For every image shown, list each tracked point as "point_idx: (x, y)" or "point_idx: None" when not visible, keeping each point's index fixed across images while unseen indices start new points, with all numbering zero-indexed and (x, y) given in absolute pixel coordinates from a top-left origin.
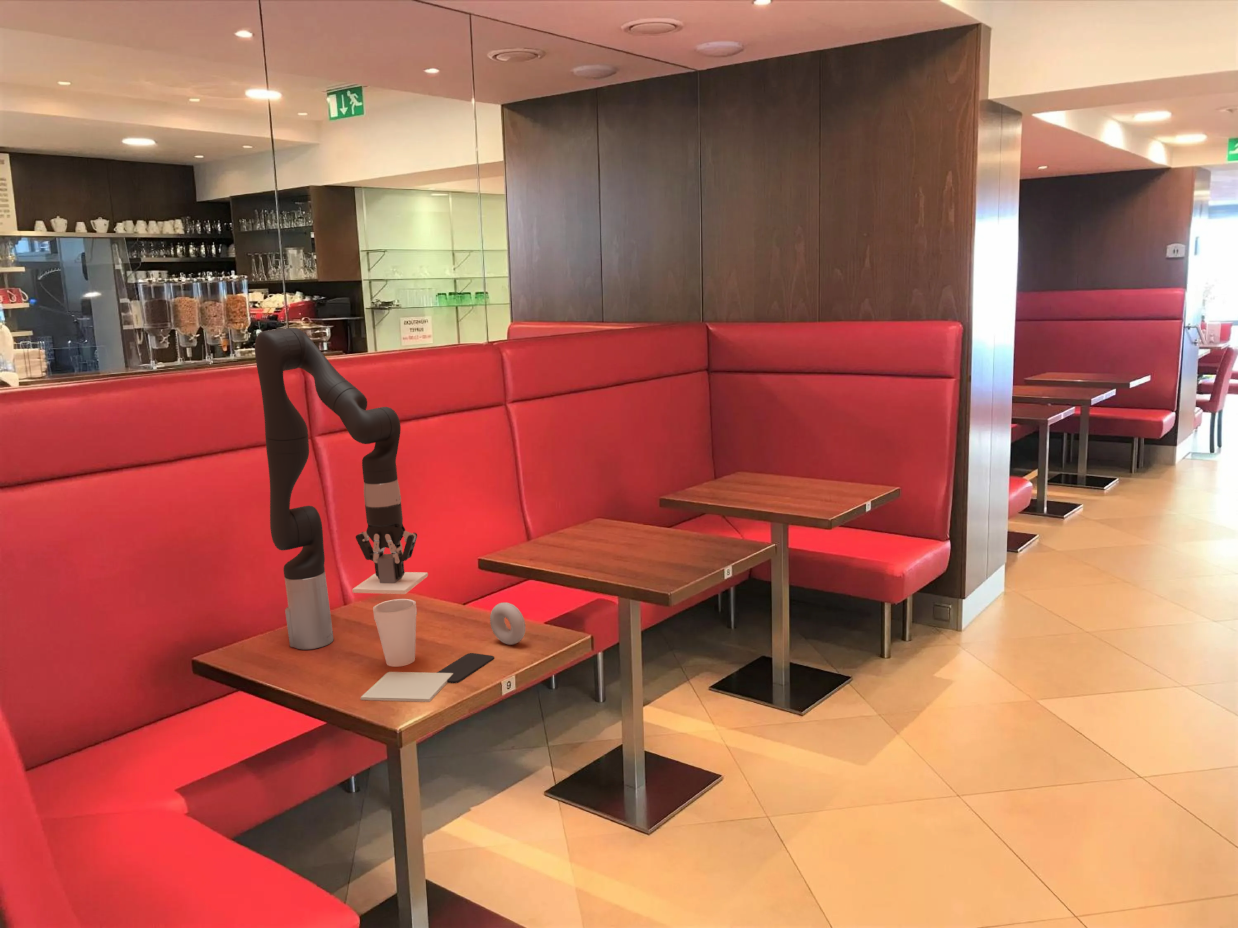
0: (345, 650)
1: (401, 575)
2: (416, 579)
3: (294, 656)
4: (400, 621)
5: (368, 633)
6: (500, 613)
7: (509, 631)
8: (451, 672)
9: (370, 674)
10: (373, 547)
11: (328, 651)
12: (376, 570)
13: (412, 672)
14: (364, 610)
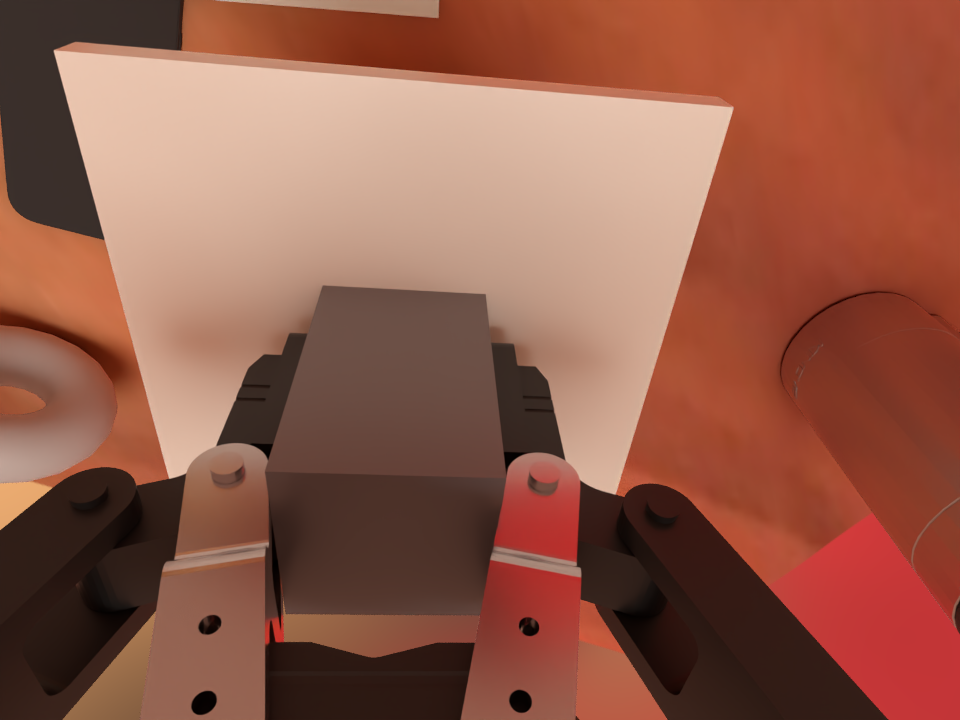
0: (715, 288)
1: (256, 364)
2: (166, 384)
3: (917, 232)
4: None
5: (662, 426)
6: None
7: (3, 364)
8: (97, 8)
9: (530, 18)
10: (577, 636)
11: (783, 279)
12: (539, 406)
13: (305, 5)
14: None
